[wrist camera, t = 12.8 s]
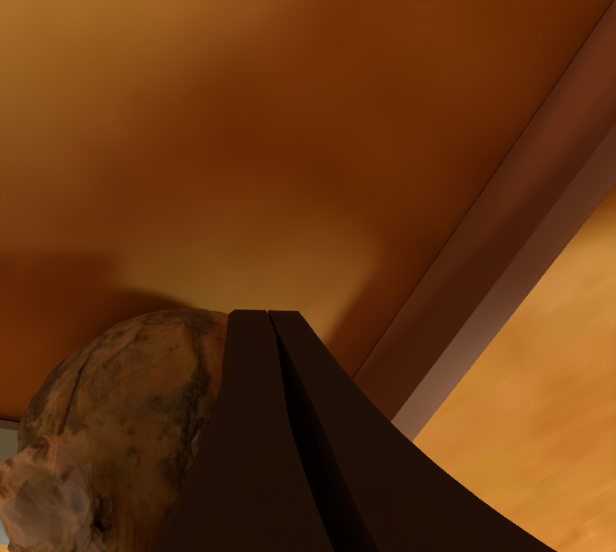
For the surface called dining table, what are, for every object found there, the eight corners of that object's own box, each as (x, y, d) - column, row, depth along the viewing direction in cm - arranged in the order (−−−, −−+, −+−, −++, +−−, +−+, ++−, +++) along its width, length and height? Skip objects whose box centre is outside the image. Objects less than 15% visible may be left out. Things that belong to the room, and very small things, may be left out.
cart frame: (698, -54, 13) (802, -55, 11) (326, 462, 19) (347, 523, 17) (28, -817, 6) (-31, -1199, 4) (-202, 368, 13) (-269, 450, 11)
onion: (4, 461, 16) (-99, 836, 9) (54, 226, 12) (-52, 549, 6) (245, 476, 19) (297, 765, 12) (336, 291, 15) (475, 551, 9)
